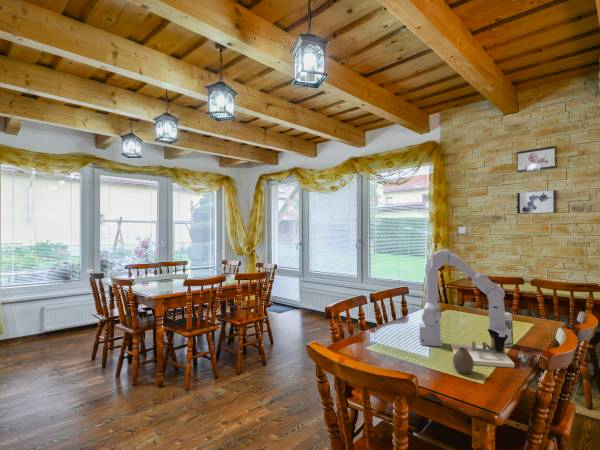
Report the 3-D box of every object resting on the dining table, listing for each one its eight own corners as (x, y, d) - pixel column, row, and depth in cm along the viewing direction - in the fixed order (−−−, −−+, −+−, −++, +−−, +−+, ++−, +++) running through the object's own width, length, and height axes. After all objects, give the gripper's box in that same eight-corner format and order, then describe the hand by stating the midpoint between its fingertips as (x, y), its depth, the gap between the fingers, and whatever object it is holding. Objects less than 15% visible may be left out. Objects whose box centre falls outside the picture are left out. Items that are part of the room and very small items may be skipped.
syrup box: (503, 347, 149) (502, 314, 149) (492, 343, 155) (491, 311, 155) (513, 346, 151) (512, 313, 151) (502, 341, 157) (501, 310, 157)
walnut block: (493, 352, 140) (493, 340, 140) (491, 349, 143) (490, 337, 143) (504, 353, 139) (504, 341, 139) (501, 349, 142) (501, 337, 142)
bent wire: (473, 357, 136) (472, 348, 136) (468, 349, 145) (468, 341, 145) (495, 359, 134) (495, 350, 134) (489, 350, 142) (489, 342, 142)
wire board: (458, 363, 134) (458, 359, 134) (451, 347, 151) (451, 343, 151) (514, 367, 129) (514, 363, 129) (500, 350, 146) (500, 346, 146)
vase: (467, 367, 130) (466, 344, 130) (477, 375, 123) (476, 351, 123) (449, 368, 130) (449, 345, 130) (458, 376, 123) (458, 352, 123)
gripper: (513, 321, 133) (514, 356, 133) (502, 312, 147) (503, 343, 147) (493, 320, 135) (494, 354, 135) (484, 311, 149) (485, 342, 149)
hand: (497, 349), depth 141 cm, fingers closed on walnut block, 4 cm apart
